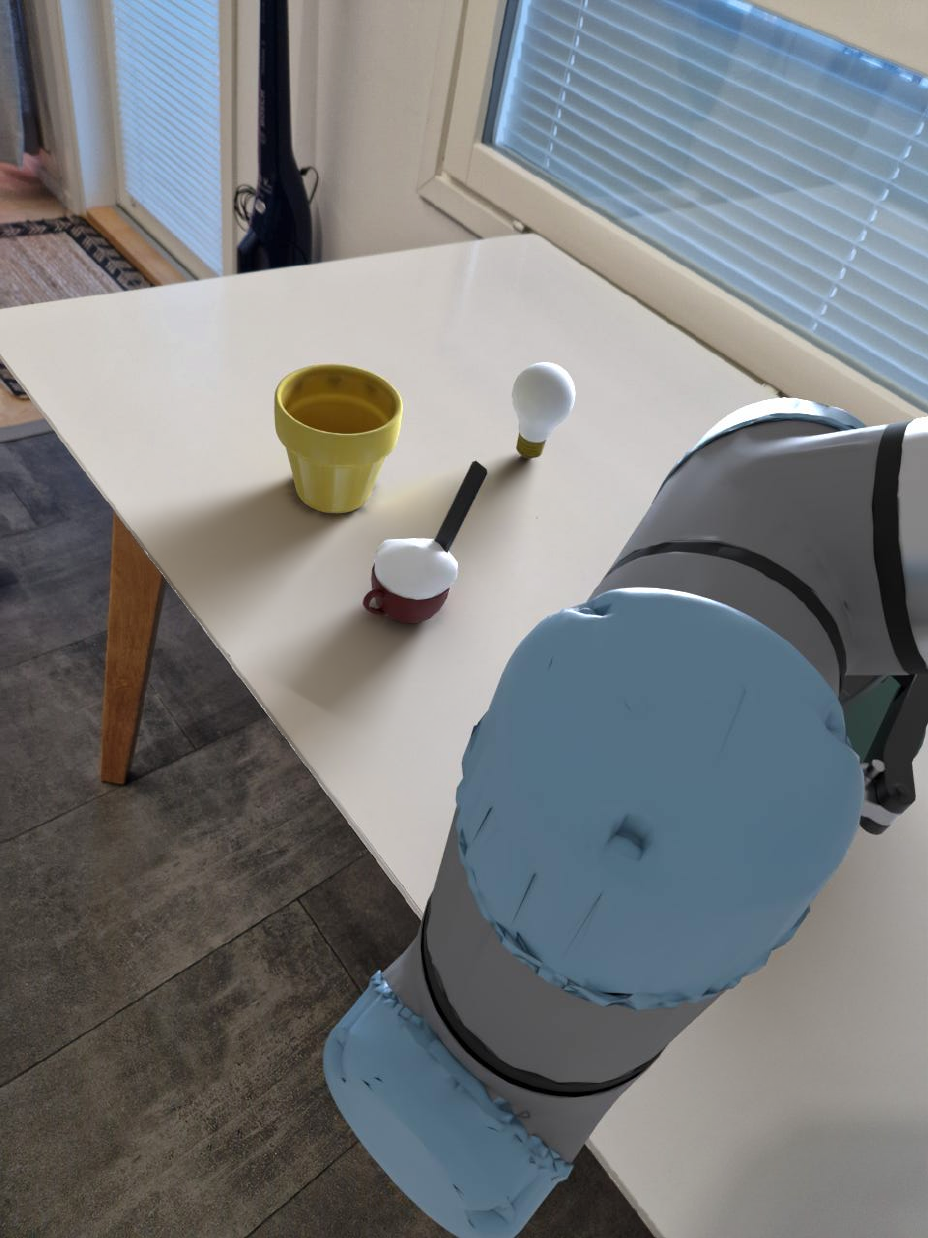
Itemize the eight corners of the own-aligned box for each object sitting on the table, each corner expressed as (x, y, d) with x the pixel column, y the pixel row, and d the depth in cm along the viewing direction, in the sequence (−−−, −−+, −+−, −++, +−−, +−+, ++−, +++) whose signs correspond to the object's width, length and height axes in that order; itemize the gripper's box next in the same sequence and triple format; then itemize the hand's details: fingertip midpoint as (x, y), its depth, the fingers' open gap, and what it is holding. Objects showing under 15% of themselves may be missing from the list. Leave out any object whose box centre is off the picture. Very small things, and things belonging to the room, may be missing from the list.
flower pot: (348, 546, 73) (356, 451, 66) (249, 494, 75) (247, 398, 68) (412, 487, 80) (426, 395, 73) (320, 441, 82) (325, 348, 75)
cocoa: (364, 642, 66) (379, 522, 57) (345, 584, 70) (356, 464, 61) (480, 625, 69) (510, 510, 60) (456, 571, 73) (481, 455, 64)
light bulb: (560, 448, 88) (586, 360, 81) (551, 481, 84) (577, 391, 77) (504, 432, 88) (525, 343, 81) (492, 465, 84) (513, 374, 77)
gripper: (500, 748, 39) (742, 531, 53) (815, 1005, 33) (994, 685, 47) (537, 637, 33) (795, 428, 47) (921, 921, 28) (1087, 587, 42)
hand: (894, 556), depth 47 cm, fingers closed on lid, 3 cm apart
